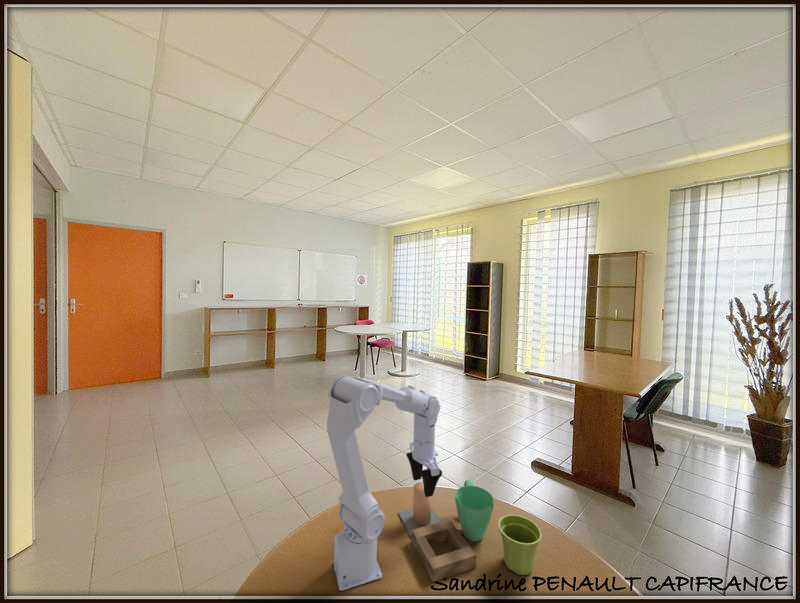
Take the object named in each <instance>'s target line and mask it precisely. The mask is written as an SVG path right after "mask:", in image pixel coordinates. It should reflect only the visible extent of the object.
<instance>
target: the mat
mask: <svg viewBox="0 0 800 603" xmlns="http://www.w3.org/2000/svg"><path fill="white" fill-rule="evenodd" d="M398 516H399V518H400V519H401V521H402V523H403V525H404V526H405V529H406V531H407V532H408V534H409V536H410V537H411V533H412V530H414V529H417V528H421V527H425V526H419V525H416V524H415V523H414V522H413V508H410V509H407V510H403V511H399V512H398ZM440 522H443V521H442V519H441V517H440V516H439V515H438V513H437V512H436V511H435V509H434V508H433V506H432V505H431V523H430V524H429V525H432V524H436V523H440ZM427 526H428V525H427Z"/></svg>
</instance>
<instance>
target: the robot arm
mask: <svg viewBox="0 0 800 603" xmlns="http://www.w3.org/2000/svg"><path fill="white" fill-rule="evenodd" d="M327 397H328V399H329V405H328V406H329V407H328V414H327V421H326V431H327V435H328V439H329V443H330V448H331V451H332V454H333V459H334V463H335V466H336V471H337V473H338V478H339V481H340V485H341V490H342V493H341V494H340V496H339V497H338V500H339V508H338V516H339V519H340V521H342V522H343V528H344V529H343V530H342V531H340V532H339V533H336V534H335V535H334V538H333V539H334V540H333V541H334V543H333V544H334V545H333V546H334V547H333V554H334V555H333V568H334V573H335V576H336V581H337V586H338V590H339V591H346V590H348V589H351V588H354V587H357V586H361V585H363V584H367V583H370V582H372V581H373V582H374V581H377V580H380V579H382V578H383V573H382V570H381V568H380V565H379V562H378V560H377V558H378V557H377V555H378V554H377V551H378V550H377V548H378V546H377V545H378V537H379V536H380V535H381V533H382V532H383V529H384V527H385V520H386V519H385V518H386V516H385V513H384V512H383V511H382V510H381V509H380V506H379V503H378V502H377V500H376V499H375V497H374V496H373V495H372V493H371V491H370V490H369V485H368V481H367V480H368V479H367V476H366V472H365V468H364V464H363V460H362V455H361V450H360V447H359V442H358V439H357V434H356V430H357V429H359V428H361V426H362V425H363V423H364V422H365V421H366V420H367V418H368V417H369V416H371V415H372V414H371V413H372V412H373V411H374V410H375V408H376V406H380V405H381V402H382V400H383V401H387V402H392V403H394V404H395V406H396V408H397V409H398V410H400V411H403V412H407V413H411V414H413V441H411V442H409V449H410V452H407V453H406V457H407V460H408V462H409V465H410V470H411V475H412V478H413V482H414V481H415V482H416V481H418V480H419V481H420V480H421V479H422V482H423V484H424V494H425V496H426V497H430V496H432V497H433V496H434V493H435V491H436V486H437V484H438V481H439V480H440V478H441V477H442V475H443V470H441V469H440V466H439V465H438V461H437V458H436V457H438V456H439V453H438V452H437V450H435V440H436V424H437V421H438V416H439V413H440V411H441V404H440V401H439V400H438V399H437V397H436V396H433V395H431V394H427V393H426V391H424V390H416V387H415V386H412V385H407V386H402V387H400V388H399V389H397V388H394V387H392V386H389V385H387V384H385V383H382V382H378V381H376V380H372V379H369V378H363V377H359V376H353V377H352V376H350V375H347V374H343V375H339V376H338V377H337V378H336V379H335V380H334V382H333V383H332V385H331V387H330V388H329V390H328V392H327ZM424 467H426V469H423V468H424Z"/></svg>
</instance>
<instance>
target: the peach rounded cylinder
mask: <svg viewBox="0 0 800 603" xmlns="http://www.w3.org/2000/svg"><path fill="white" fill-rule="evenodd" d="M412 494H413V496H412V497H413V499H412V500H413V501H412V502H413V504H412V509H413V522H414V523H415V524H416V525H419V526H427V525H429V524H430V523H431V506H432V498H433V496H430V497H426V496H425V494H424V484H423V481H419V482H415V484H414V485H413V493H412Z"/></svg>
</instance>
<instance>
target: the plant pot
mask: <svg viewBox="0 0 800 603" xmlns="http://www.w3.org/2000/svg"><path fill="white" fill-rule="evenodd" d="M497 525H498V529H499V531H500V534H501V538H502V547H503V557H504V558H503V559H504V563H505V565H506V567H507V568H508V570H511V571H512V572H514V573H515V574H517V575H521V576H527V575H529V574H531V572H532V570H533V568H534V562H535V556H536V551H537V547H538V546H539V543H540V541H541V539H542V536H543V535H542V531H541V529H540V528H539V526H538V525H537V524H536V522H534V521H532V520H531V519H529V518H527V517H526V516H525V517H524V516H522V515H518V514H507V515H504V516H502V517H500V519H499V520H498V524H497Z"/></svg>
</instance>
